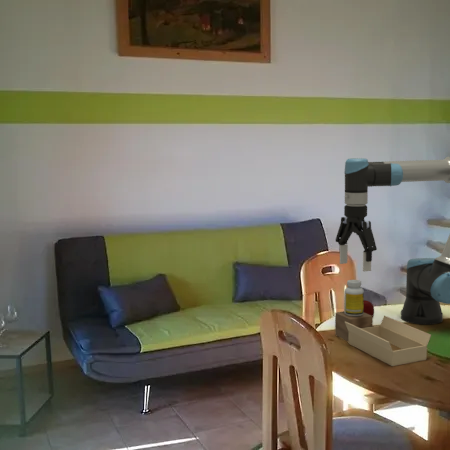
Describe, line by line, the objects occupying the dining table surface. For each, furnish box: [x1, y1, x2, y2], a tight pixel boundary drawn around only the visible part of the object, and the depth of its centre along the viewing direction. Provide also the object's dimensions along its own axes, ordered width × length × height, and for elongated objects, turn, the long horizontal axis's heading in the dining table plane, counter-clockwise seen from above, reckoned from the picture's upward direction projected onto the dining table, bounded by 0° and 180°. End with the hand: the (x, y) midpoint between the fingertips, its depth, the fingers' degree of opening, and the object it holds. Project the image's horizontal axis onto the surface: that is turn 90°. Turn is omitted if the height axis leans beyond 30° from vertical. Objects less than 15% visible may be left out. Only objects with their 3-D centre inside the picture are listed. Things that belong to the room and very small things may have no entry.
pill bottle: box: [343, 279, 365, 316], centre depth 218 cm, size 6×6×12 cm
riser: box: [334, 310, 374, 342], centre depth 219 cm, size 9×9×8 cm
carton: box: [345, 315, 432, 367], centre depth 204 cm, size 16×23×8 cm
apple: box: [363, 299, 375, 317], centre depth 230 cm, size 10×10×10 cm
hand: (354, 267), depth 216 cm, fingers open, 13 cm apart
